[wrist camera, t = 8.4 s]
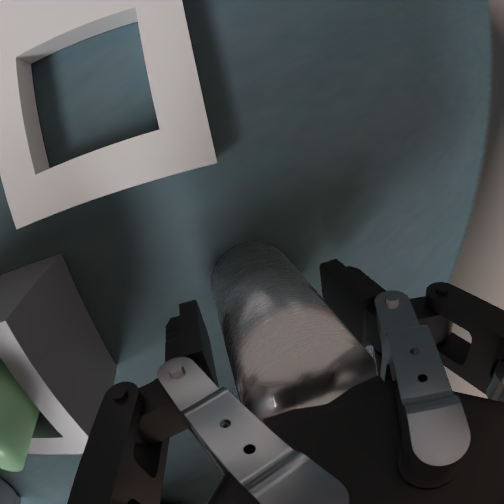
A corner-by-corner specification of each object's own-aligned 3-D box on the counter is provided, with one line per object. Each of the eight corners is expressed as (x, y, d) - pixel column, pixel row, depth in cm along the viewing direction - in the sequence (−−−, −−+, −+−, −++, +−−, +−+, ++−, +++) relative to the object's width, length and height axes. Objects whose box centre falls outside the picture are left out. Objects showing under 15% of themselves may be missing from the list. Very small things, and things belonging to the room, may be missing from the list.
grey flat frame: (213, 160, 13) (217, 163, 11) (31, 219, 12) (16, 229, 10) (157, -114, 6) (157, -130, 4) (9, -60, 5) (-1, -70, 3)
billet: (296, 302, 16) (371, 412, 9) (222, 324, 16) (259, 454, 8) (284, 232, 15) (379, 323, 7) (201, 254, 14) (228, 376, 7)
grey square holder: (116, 365, 15) (103, 452, 10) (28, 380, 14) (1, 451, 9) (61, 252, 12) (5, 320, 7) (-28, 285, 12) (-83, 344, 6)
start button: (68, 375, 12) (41, 474, 7) (20, 382, 12) (-13, 467, 6) (32, 315, 11) (-22, 411, 5) (-15, 328, 10) (-68, 409, 5)
